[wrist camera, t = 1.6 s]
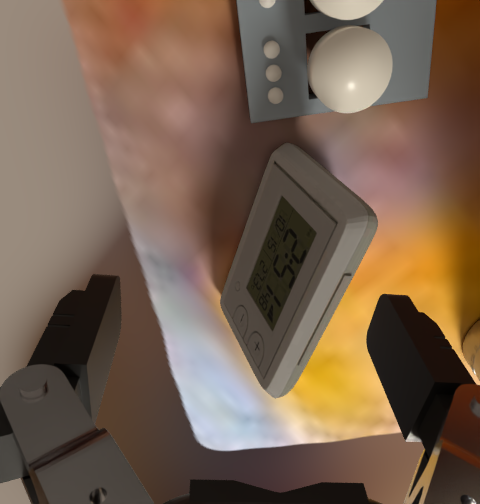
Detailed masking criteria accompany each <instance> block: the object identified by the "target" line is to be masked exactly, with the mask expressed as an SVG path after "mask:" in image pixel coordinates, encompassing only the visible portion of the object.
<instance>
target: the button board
mask: <svg viewBox="0 0 480 504" xmlns="http://www.w3.org/2000/svg"><path fill="white" fill-rule="evenodd" d="M236 4H237V12H238V21H239V29H240V38H241V47H242V55H243V64H244V72H245V81H246V89H247V98H248V106H249V115H250V120H251V123H256V122H263V121H270V120H277V119H284V118H291V117H298V116H305V115H312V114H319V113H326V112H333V110H331V109H330V108H328V107H327V106H325V105H324V104H323V103H322V102H321V101H320V100H319V98H318V97H317V96H316V95H315V94H308V76H307V52H306V33H313V32H320V31H326V30H332V29H334V28H337V27H340V26H344V25H355V26H360V25H363V28H367V29H370V30H373V31H375V32H376V33H378V34H379V35H380V36H381V37H382V38H383V39H384V40H385V41H386V43H387V44H388V46H389V48H390V51H391V55H392V61H393V67H392V74H391V78H390V81H389V84H388V86H387V88H386V89H385V91H384V93H383V94H382V95H381V96H380V98H379V99H378V100H377V101H376V102H374V103H373V104H372V105H371V106H375V105H382V104H389V103H395V102H402V101H409V100H416V99H423V98H428V87H429V76H430V65H431V54H432V44H433V33H434V22H435V11H436V0H383V2H382V3H381V4H380V5H379V6H378V7H377V8H376V9H375V10H373V11H372V12H370V13H369V14H367V15H365V16H363V17H361V18H358V19H353V20H341V19H337V18H333V17H329V16H327V15H324V14H323V13H321V12H319V11H318V12H312V13H305V9H304V0H236Z"/></svg>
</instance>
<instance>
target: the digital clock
mask: <svg viewBox="0 0 480 504" xmlns="http://www.w3.org/2000/svg"><path fill="white" fill-rule="evenodd" d="M377 227H378V220H377V216H376V214H375V213H374V211H373V210H372V208H371V207H370V206H369V205H368V204H367V203H365V202H364V201H363V200H362V199H361V198H360V197H359V196H357V195H356V194H355V193H354V192H353V191H351V190H350V189H349V188H348V187H347V186H345V185H344V184H343V183H342V182H341V181H339V180H338V179H337V178H336V177H335V176H333V175H332V174H331V173H330V172H329V171H327V170H326V169H325V168H324V167H323V166H321V165H320V164H319V163H318V162H317V161H315V160H314V159H313V158H312V157H310V156H309V155H308V154H307V153H306V152H304V151H303V150H302V149H301V148H299V147H298V146H296V145H294V144H291V143H284V144H283V145H281V146H280V147H279V148H278V149H276V150H275V151H274V152H273V153H272V155H271V157H270V159H269V162H268V164H267V167H266V170H265V172H264V175H263V178H262V181H261V183H260V186H259V189H258V192H257V195H256V198H255V200H254V203H253V206H252V209H251V212H250V215H249V218H248V220H247V223H246V226H245V229H244V232H243V235H242V237H241V240H240V243H239V246H238V249H237V252H236V255H235V257H234V260H233V263H232V266H231V269H230V272H229V274H228V277H227V280H226V283H225V286H224V289H223V292H222V295H221V300H220V304H221V308H222V311H223V313H224V315H225V317H226V319H227V321H228V323H229V325H230V327H231V329H232V331H233V333H234V335H235V337H236V339H237V340H238V342H239V344H240V346H241V348H242V350H243V352H244V354H245V356H246V358H247V360H248V362H249V364H250V366H251V368H252V370H253V372H254V374H255V376H256V378H257V380H258V381H259V383H260V385H261V386H262V388H263V389H264V390H265V391H266V392H267V393H268V394H270V395H271V396H272V397H274V398H279V397H282V396H284V395H286V394H287V393H288V392H289V391H290V390H291V389H292V388H293V387H294V385H295V384H296V382H297V381H298V379H299V377H300V376H301V374H302V372H303V370H304V368H305V367H306V365H307V363H308V361H309V359H310V357H311V355H312V353H313V352H314V350H315V348H316V346H317V344H318V342H319V340H320V338H321V336H322V335H323V333H324V331H325V329H326V327H327V325H328V323H329V321H330V319H331V318H332V316H333V314H334V312H335V310H336V308H337V306H338V304H339V302H340V301H341V299H342V297H343V295H344V293H345V291H346V289H347V287H348V285H349V284H350V282H351V280H352V278H353V276H354V274H355V272H356V270H357V268H358V267H359V265H360V263H361V261H362V259H363V257H364V255H365V253H366V251H367V249H368V247H369V245H370V243H371V241H372V239H373V237H374V235H375V232H376V230H377Z"/></svg>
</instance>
